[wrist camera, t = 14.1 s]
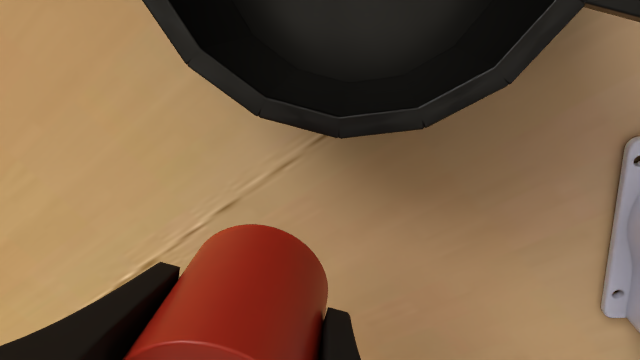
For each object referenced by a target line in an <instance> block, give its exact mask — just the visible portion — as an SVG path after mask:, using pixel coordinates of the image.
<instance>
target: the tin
mask: <svg viewBox="0 0 640 360" xmlns="http://www.w3.org/2000/svg"><path fill="white" fill-rule="evenodd" d="M327 297H328V282H327V278H326V274H325V272H324V269H323V267H322V265H321V263H320V261H319V260H318V258H317V257H316V256H315V254H314V253H313V252H312V251H311V250H310V249H309V248H308V247H307V246H306V245H305V244H304V243H303V242H302V241H300V240H299V239H297V238H296V237H294V236H293V235H291V234H289V233H287V232H285V231H282V230H279V229H277V228H274V227H269V226H265V225H256V224H249V225H239V226H234V227H230V228H227V229H225V230H222V231H220V232H218V233H216V234H215V235H213V236H212V237H211V238H209V239H208V240H207V241H206V242H205V243H204V244H203V245H202V247H201V248H200V249H199V251H198V252H197V254H196V255H195V257H194V258H193V259H192V261H191V262H190V264H189V265H188V266H187V268H186V269H185V271H184V272H183V274H182V275H181V276H180V278H179V279H178V281H177V282H176V284H175V285H174V286H173V288H172V289H171V291H170V292H169V294H168V295H167V296H166V298H165V299H164V301H163V302H162V304H161V305H160V306H159V308H158V309H157V311H156V312H155V314H154V315H153V316H152V318H151V319H150V321H149V322H148V324H147V325H146V326H145V328H144V329H143V331H142V332H141V334H140V335H139V336H138V338H137V339H136V341H135V342H134V344H133V345H132V346H131V348H130V349H129V351H128V352H127V354H126V355H125V356H124V358H123V359H122V360H318V358H319V350H320V343H321V336H322V329H323V322H324V318H325V311H326V304H327Z"/></svg>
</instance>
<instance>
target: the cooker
mask: <svg viewBox="0 0 640 360" xmlns="http://www.w3.org/2000/svg"><path fill="white" fill-rule="evenodd" d="M142 1H143V2H144V3H145V5H146V6H147V8H148V9H149V11H150V12H151V14H152V15H153V17H154V18H155V20H156V21H157V22H158V24H159V25H160V27H161V28H162V30H163V31H164V33H165V34H166V36H167V37H168V39H169V40H170V42H171V43H172V44H173V46H174V47H175V49H176V50H177V52H178V53H179V55H180V56H181V58H182V59H183V61H184V62H185V63H186V64H188V67H190V68H191V69H193V70H194V71H195V72H197V73H198V74H199V75H201V76H202V77H204V78H205V79H206V80H208V81H209V82H210V83H212V84H213V85H214V86H216V87H217V88H219V89H220V90H221V91H223V92H224V93H225V94H227V95H228V96H230V97H231V98H232V99H234V100H235V101H236V102H238V103H239V104H240V105H242V106H243V107H245V108H246V109H247V110H249V111H250V112H251V113H253V114H254V115H256V116H259V117H260V118H264V119H267V120H271V121H275V122H279V123H282V124H286V125H290V126H293V127H297V128H301V129H305V130H308V131H312V132H316V133H320V134H323V135H327V136H331V137H334V138H338V137H339V138H341V139H342V138H350V137H359V136H368V135H376V134H385V133H393V132H402V131H411V130H419V129H423V128H427V127H429V126H431V125H433V124H435V123H437V122H438V121H440V120H442V119H444V118H446V117H448V116H450V115H452V114H454V113H456V112H458V111H460V110H462V109H464V108H465V107H467V106H469V105H471V104H473V103H475V102H477V101H479V100H481V99H483V98H485V97H487V96H489V95H491V94H493V93H494V92H496V91H498V90H500V89H502V88H504V87H506V86H507V85H508V84H511V83H512V82H513V81H514V80H515V79H516V78H517V77H518V76H519V74H520V73H521V72H522V71H523V70H524V69H525V68H526V67H527V66H528V65H529V64H530V63H531V62H532V61H533V60H534V59H535V58H536V56H537V55H538V54H539V53H540V52H541V51H542V50H543V49H544V48H545V47H546V46H547V45H548V44H549V43H550V42H551V41H552V39H553V38H554V37H555V36H556V35H557V34H558V33H559V32H560V31H561V30H562V29H563V28H564V27H565V26H566V25H567V24H568V23H569V21H570V20H571V19H572V18H573V17H574V16H575V15H576V14H577V13H578V12H579V11H580V10H581V9H582V8H583V7H585V8H589V9H593V10H596V11H600V12H604V13H608V14H611V15H615V16H619V17H623V18H626V19H630V20H634V21H638V22H640V0H142Z"/></svg>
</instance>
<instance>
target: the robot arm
mask: <svg viewBox="0 0 640 360" xmlns="http://www.w3.org/2000/svg"><path fill="white" fill-rule="evenodd" d="M637 156H640V136H638V137H634V138H632V139H631V140H629V141H628V143H627V144H626V146H625V148H624V155H623V162H622V168H621V175H620V182H619V188H618V195H617V202H616V208H615V215H614V222H613V228H612V235H611V242H610V248H609V255H608V262H607V268H606V275H605V282H604V288H603V295H602V301H601V310H602V311H603V313H604V314H605V315H606V316H607V317H609V318H627V319H628V320H629V321H630V322H631V323H632V325H633V326H634V327H635V328H636V329H637V331H638V332H639V333H640V161H639V162H637V163H634V162H633V161H634V159H635V158H636V157H637ZM179 270H180V267H177V266H174V265H170V264H166V263H163V262H160V263H158V264H156V265H154V266H153V267H151V268H149V269H148V270H146V271H145V272H143V273H142V274H140V275H138V276H137V277H135V278H134V279H132V280H130V281H129V282H127V283H126V284H124V285H122V286H121V287H119V288H117V289H116V290H114V291H112V292H111V293H109V294H107V295H106V296H104V297H102V298H101V299H99V300H97V301H95V302H94V303H92V304H90V305H88V306H86V307H84V308H82V309H81V310H79V311H77V312H75V313H73V314H71V315H69V316H68V317H66V318H64V319H62V320H60V321H58V322H55V323H53V324H51V325H49V326H47V327H45V328H43V329H41V330H38V331H36V332H34V333H32V334H29V335H27V336H25V337H22V338H20V339H17V340H15V341H12V342H10V343H7V344H4V345H2V346H0V360H122V359H123V358H124V356H125V355H126V354H127V352H128V351H129V349H130V348H131V346H132V345H133V344H134V342H135V341H136V339H137V338H138V336H139V335H140V334H141V332H142V331H143V329H144V328H145V326H146V325H147V324H148V322H149V321H150V319H151V318H152V316H153V315H154V314H155V312H156V311H157V309H158V308H159V306H160V305H161V304H162V302H163V301H164V299H165V298H166V296H167V295H168V294H169V292H170V291H171V289H172V288H173V286H174V285H175V284H176V282H177V281H178V279H179ZM616 290H619V291H618V292H617V293H614V294H613V292H614V291H616ZM318 360H361V358H360V355H359V352H358V348H357V345H356V341H355V337H354V333H353V329H352V324H351V319H350V315H349V314H348V312H344V311H340V310H337V309H333V308H329V307H328V309H327V312H326V315H325V319H324V322H323V329H322V336H321V343H320V350H319V358H318Z"/></svg>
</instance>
